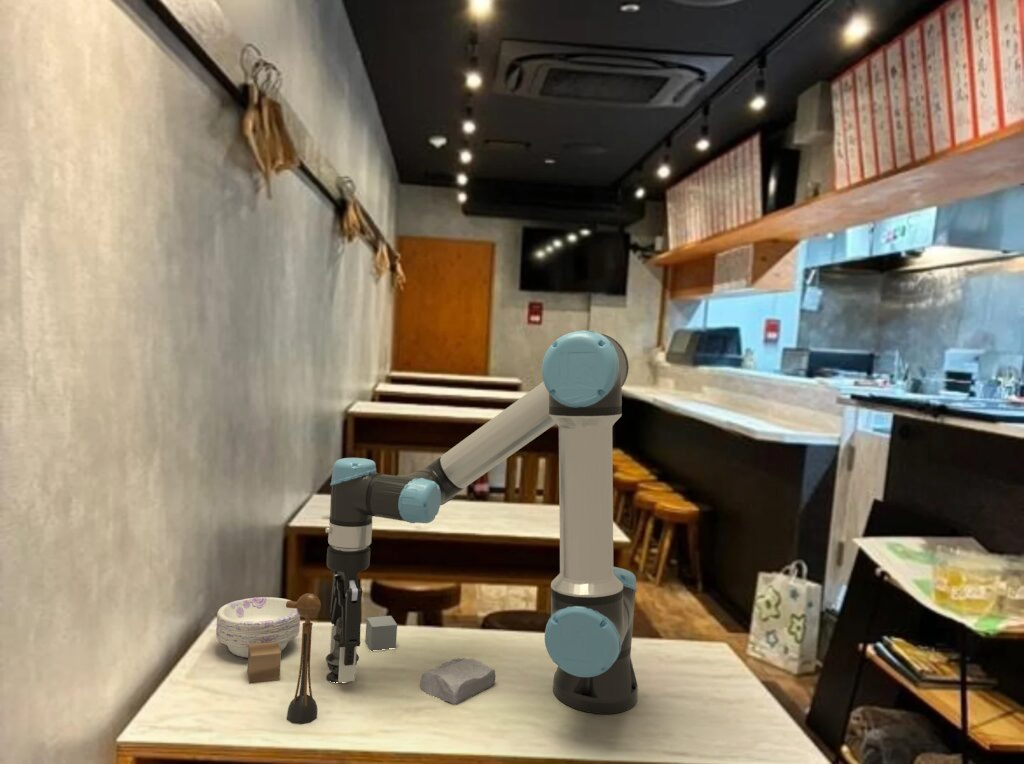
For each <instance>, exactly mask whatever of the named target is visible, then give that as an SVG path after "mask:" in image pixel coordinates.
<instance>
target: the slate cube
mask: <svg viewBox="0 0 1024 764" xmlns="http://www.w3.org/2000/svg"><path fill="white" fill-rule="evenodd" d="M365 621H366V623H365V640H364V642H365V644H366V645H368V646H367V648H368V647H369V648H368V649H370V650H371V651H372V652H374V651H373V650H382V649H389V648H396V649H397V636H398V635H397V632H398V623H397V622H396V621H395V619H394V618H393V616H392V615H384V616H373V617H372V616H371V617H366V619H365ZM370 650H369V651H370ZM371 651H370V652H371ZM382 651H383V650H382Z"/></svg>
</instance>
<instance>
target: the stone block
mask: <svg viewBox="0 0 1024 764" xmlns="http://www.w3.org/2000/svg"><path fill="white" fill-rule="evenodd" d="M496 677H497V675H496V670H495V668H492V667H490V666H489V665H487V664H484V663H483V662H481V661H479V660H476V659H474V658H466V657H465V658H464V657H463V658H458V657H457V658H452V659H451V660H449V661H446V662H443V663H441V664H440V665H438V666H437V667H436V668H434V669H430V670H428V671H424V672H422V673H421V676H420V682H419V683H420V687H421V689H422V690H423V691H422V690H421V691H422V692H424V693H425V692H426V693H425V694H426V695H428V694H429V695H428V696H430V697H433V696H434V698H436V697H437V698H436V699H439V698H440V699H439V700H441V701H443V700H444V701H443V702H447V703H449V704H452V705H454V704H455V705H458V704H460V703H462V702H464V701H466V700H468V699H470V698H472V697H474V696H476V695H478V694H480V693H481V692H483V690H484V691H486V690H487V688H488V689H489V688H491V687H492V686H494V684H495V682H496ZM485 689H486V690H485ZM479 692H480V693H479ZM477 693H478V694H477ZM475 694H476V695H475ZM473 695H474V696H473ZM471 696H472V697H471Z"/></svg>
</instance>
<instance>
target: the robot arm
mask: <svg viewBox="0 0 1024 764" xmlns="http://www.w3.org/2000/svg"><path fill="white" fill-rule="evenodd" d="M544 354H545V355H544V357H543V360H542V364H541V377H542V381H541V382H540V383H539V384H538V385H537V386H535V387H533V388H532V389H531V390H529V391H528V392H527V393H525V394H524V395H523V396H521V397H520V398H519V399H518V400H516V401H514V402H513V403H512V404H510V405H509V406H508V407H506V408H505V409H504V410H502V411H501V412H500V413H498V414H497V415H495V416H494V417H492V418H491V419H490V420H489V421H487V422H486V423H484V424H483V425H482V426H480V427H479V428H477V429H476V430H474V432H472V433H471V434H470V435H468V436H467V437H465V438H464V439H463V440H461V441H459V443H457V444H455V446H453V447H452V448H450V449H449V450H448V451H446V452H444V454H442V455H441V456H440V457H438V458H436V459H435V460H433V461H432V462H431V463H430V464H428V465H427V466H425V467H423V468H422V469H420V470H417V471H414V472H411V473H409V474H406V475H392V474H383V473H379V472H377V467H376V466H377V465H376V462H375V461H374V460H372V459H368V458H364V457H362V458H360V457H344V458H340V459H337V460H336V461H335V462H334V463H333V466H332V474H331V482H330V483H329V484H330V507H329V509H330V511H329V520H328V522H329V526H328V527H326V528H325V533H326V534H328V537H327V541H328V544H329V546H328V547H327V548H326V549H327V550H326V552H327V553H326V567H327V568H328V569H329V570H331V571H332V572H333V574H332V575H333V576H332V587H331V597H330V598H331V599H330V610H329V614H328V615H329V617H330V618H331V619H330V623H331V627H330V628H331V629H330V630H331V632H330V643H329V645H330V648H329V654H330V653H332V652H333V651H334V648H335V639H334V635H336V624H337V620H338V618H340V617H342V644H338V648H340V658H339V675H338V682H339V683H342V682H350V683H352V682H355V680H356V679H355V674H356V666H357V664H356V654H357V649H358V648H357V647H360V646H361V625H362V624H361V623H362V622H361V621H362V620H361V619H362V616H361V615H362V614H361V613H362V597H363V589H362V587H361V579H360V578H358V577H359V576H358V574H359V573H360V572H361V571H362V572H363V571H365V570H367V569H368V568H369V566H370V563H371V562H370V561H371V548H370V545H371V544H372V537H373V536H372V535H373V534H372V533H373V517H375V518H382V519H383V518H384V519H390V520H395V521H401V522H407V523H410V524H417V523H418V524H430V523H432V522H433V521H434V520H435V519H436V516H437V515H438V514H439V510H440V508H441V506H442V505H445V504H447V503H448V502H450V501H452V500H453V498H454V497H455V496H456V495H457V494H459V493H460V492H461V491H463V490H464V489H466V487H468V486H469V485H471V484H472V483H474V482H475V481H476V480H478V479H480V478H481V477H482V476H484V475H485V474H486V473H488V472H489V471H491V470H492V469H493V468H495V467H496V466H498V465H499V464H501V463H502V462H503V461H506V460H507V458H509V457H510V456H512V455H514V454H515V453H516V452H518V451H519V450H520V449H521V450H522V448H523V447H525V446H526V445H528V444H529V443H530V442H532V441H533V440H535V439H536V438H537V437H539V436H540V435H542V434H543V433H544V432H546V431H547V430H549V429H550V428H552V427H553V426H555V425H557V426H558V477H559V478H558V480H559V481H558V483H559V485H558V487H559V489H558V491H559V492H558V495H559V503H558V504H559V573H558V574H557V576H556V577H554V579H552V581H551V583H550V617H549V619H548V620H547V623H546V625H545V630H544V644H545V650H546V651H547V654H548V655H549V658H550V659H551V660H552V662H553V663H555V664H556V666H557V668H556V671H555V672H554V675H553V681H552V682H553V684H552V692H553V694H554V696H555V697H556V699H558V700H559V701H560V702H562V703H563V704H565V705H566V706H568V707H571V708H573V709H576V710H579V711H582V712H587V713H593V714H606V715H607V714H618V713H622V712H625V711H627V710H630V709H632V708H633V707H634V706H635V705H636V703H637V701H638V692H639V690H638V687H639V686H638V681H637V677H636V673H635V669H634V665H633V661H632V656H631V655H632V652H631V651H632V641H633V640H632V639H633V627H634V616H635V615H634V613H635V612H634V611H635V604H636V603H635V601H636V600H635V599H636V592H638V591H637V590H638V588H637V578H636V575H635V574H634V573H633V572H632V571H630V570H628V569H625V568H622V567H618V566H617V567H616V566H614V486H613V484H614V483H613V481H614V479H613V478H614V477H613V476H614V475H613V473H614V472H613V470H614V469H613V468H614V467H613V465H614V464H613V462H614V461H613V460H614V459H613V426H614V425H615V423H616V422H617V421H618V420H619V419H620V418H621V417H622V415H623V413H622V412H623V411H622V405H623V404H622V403H623V400H622V396H623V395H622V394H623V393H622V392H623V391H622V388H623V386H624V385H625V384H626V381H627V379H628V375H629V368H630V366H629V358H628V356H627V353H626V351H625V349H624V347H623V346H622V345H621V344H620V343H619V342H618V341H617V340H616V339H614V338H612V337H611V336H609V335H606V334H604V333H599V332H596V331H593V330H584V329H582V330H576V331H572V332H569V333H566V334H564V335H562V336H560V337H558V338H557V339H556V340H555V341H554V342H553V343H552V344H551V345H550V346H549V347H548V348H547V350H546V352H545V353H544ZM355 665H356V666H355ZM351 681H352V682H351Z"/></svg>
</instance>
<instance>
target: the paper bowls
mask: <svg viewBox="0 0 1024 764" xmlns="http://www.w3.org/2000/svg"><path fill="white" fill-rule="evenodd" d="M287 601H291V599H287V598H280V597H272V596H262V597H261V596H260V597H251V598H243V599H239V600H234V601H230V602H228V603H226V604H223V606H221V607H220V608H219V609H218V611H217V612H216V613H217V614H216V628H215V629H216V634H215V635H216V640H217V641H218V642H220V644H224V645H225V646H227V648H228V650H229V651H230V652H231V653H232V654H233V655H234V656H235V655H236V656H238V657H241V658H247V659H248V649H249V644H260V643H271V642H278V644H279V648H280V651H281V652H282V651H283V650H284V649H285V648H286V647H287V645H288V643H289V642H291V641H293V640H294V639H295V638H297V637H298V636H299V634H300V630H301V629H300V626H301V616H300V615H299V613H298V612H297V609H295V608H287V607H286V603H287Z"/></svg>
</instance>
